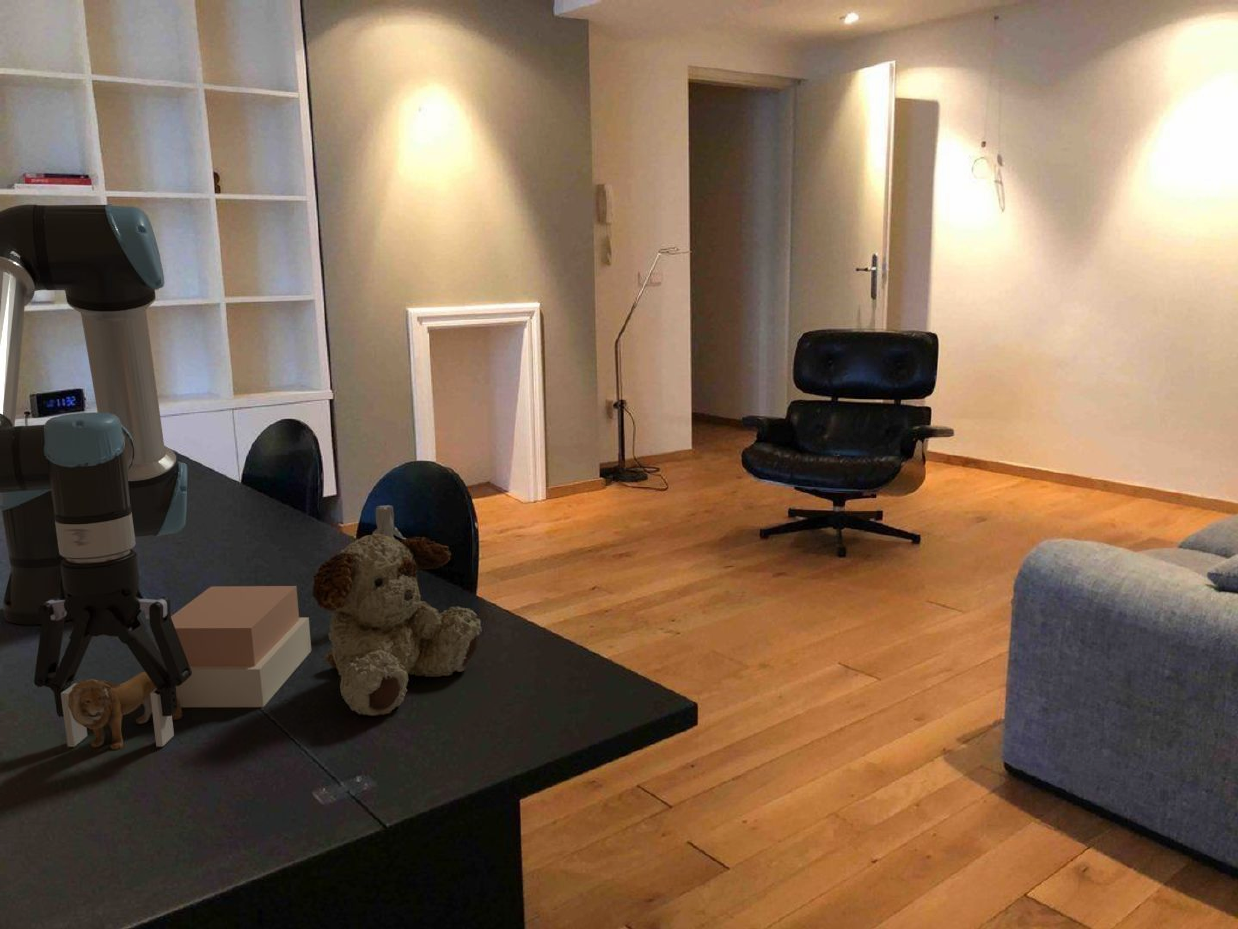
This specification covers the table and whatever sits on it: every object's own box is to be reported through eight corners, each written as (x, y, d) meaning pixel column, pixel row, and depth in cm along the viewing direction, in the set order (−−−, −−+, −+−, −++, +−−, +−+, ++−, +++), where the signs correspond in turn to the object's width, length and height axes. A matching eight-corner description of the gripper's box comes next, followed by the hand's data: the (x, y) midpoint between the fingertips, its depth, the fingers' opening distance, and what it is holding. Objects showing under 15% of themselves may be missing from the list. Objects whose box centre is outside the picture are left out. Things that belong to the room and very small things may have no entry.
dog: (369, 733, 114) (357, 570, 110) (264, 698, 124) (250, 547, 120) (495, 664, 133) (489, 523, 129) (396, 638, 143) (387, 506, 139)
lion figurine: (99, 768, 107) (89, 691, 105) (62, 760, 109) (51, 685, 107) (196, 710, 121) (188, 641, 119) (161, 705, 122) (153, 637, 120)
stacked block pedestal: (151, 707, 121) (142, 631, 119) (213, 651, 139) (207, 584, 137) (263, 707, 121) (256, 631, 119) (311, 650, 139) (305, 583, 137)
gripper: (-23, 564, 105) (5, 757, 109) (181, 562, 104) (202, 756, 108) (21, 545, 112) (46, 726, 116) (212, 543, 111) (230, 725, 116)
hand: (121, 741), depth 112 cm, fingers open, 9 cm apart
